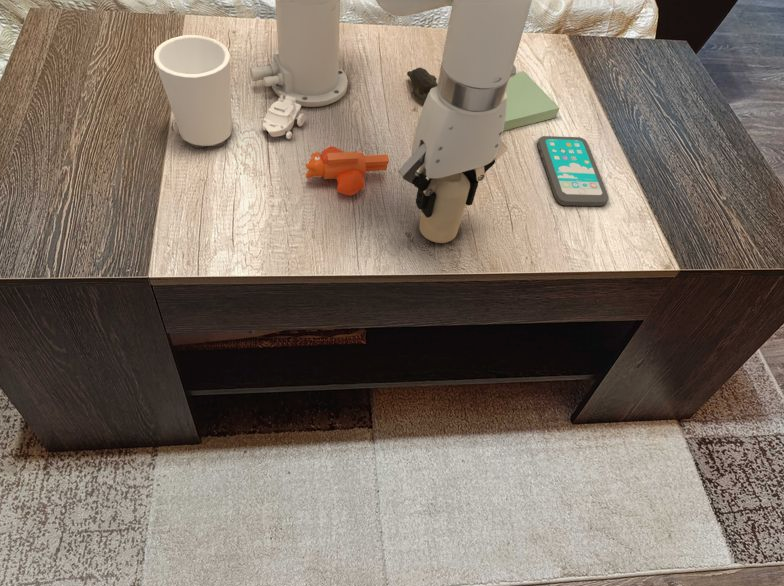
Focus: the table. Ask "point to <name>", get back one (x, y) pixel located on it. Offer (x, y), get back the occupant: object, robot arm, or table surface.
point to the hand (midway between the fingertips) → (444, 203)
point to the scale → (527, 102)
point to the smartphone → (572, 171)
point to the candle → (446, 209)
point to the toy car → (282, 117)
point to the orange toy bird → (345, 167)
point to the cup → (197, 87)
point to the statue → (421, 83)
